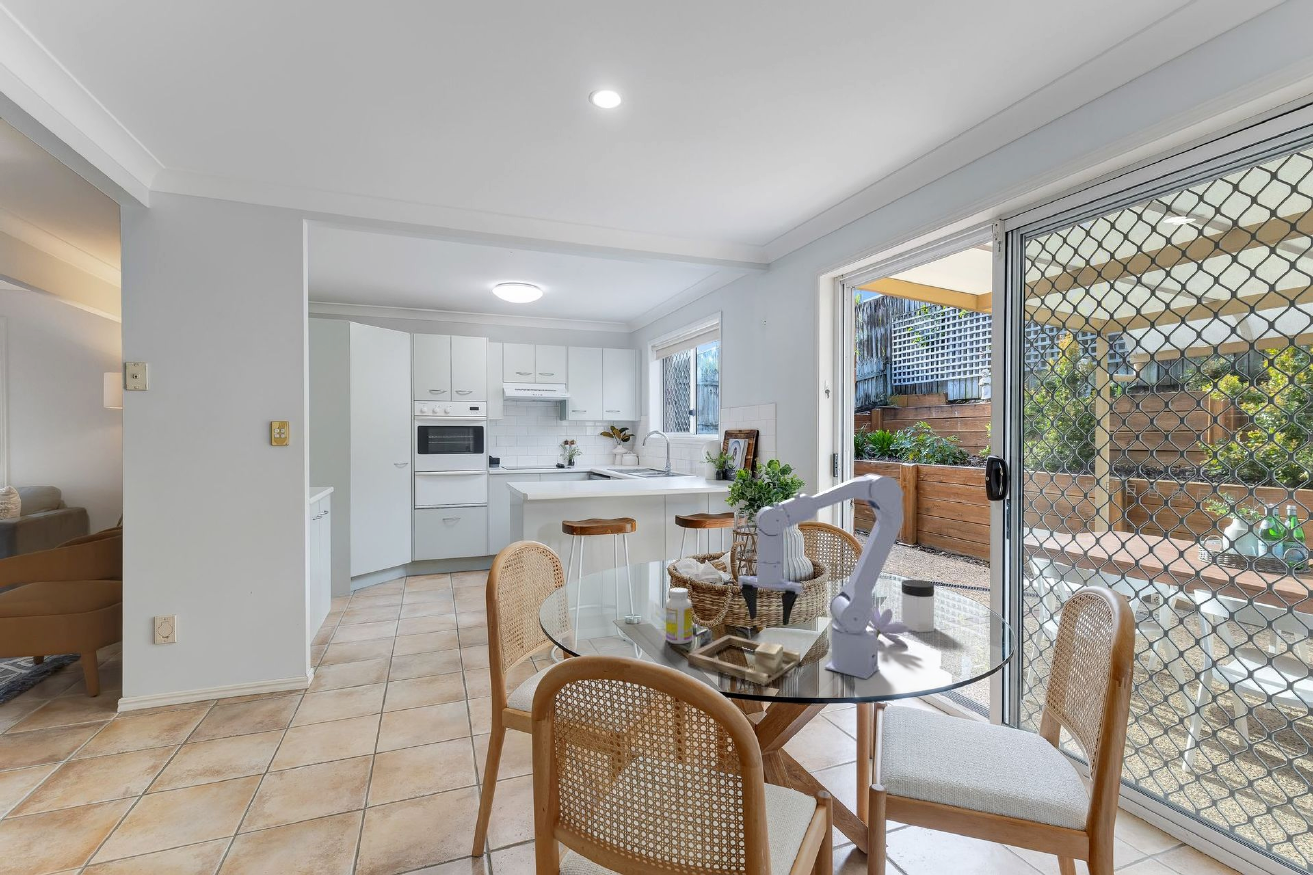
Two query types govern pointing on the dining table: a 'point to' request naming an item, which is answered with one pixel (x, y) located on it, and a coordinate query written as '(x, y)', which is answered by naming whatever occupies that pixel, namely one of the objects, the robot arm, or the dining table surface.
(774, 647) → the beige cube
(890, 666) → the dining table surface
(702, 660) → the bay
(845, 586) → the robot arm
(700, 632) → the winch
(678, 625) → the supplement bottle
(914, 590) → the jar
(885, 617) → the water lily
